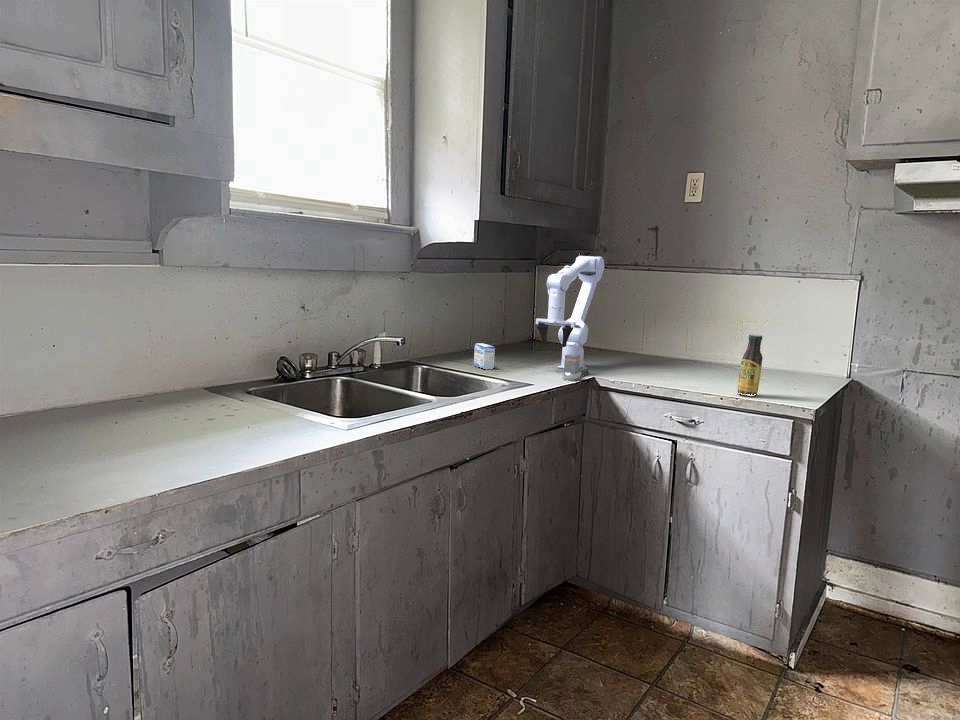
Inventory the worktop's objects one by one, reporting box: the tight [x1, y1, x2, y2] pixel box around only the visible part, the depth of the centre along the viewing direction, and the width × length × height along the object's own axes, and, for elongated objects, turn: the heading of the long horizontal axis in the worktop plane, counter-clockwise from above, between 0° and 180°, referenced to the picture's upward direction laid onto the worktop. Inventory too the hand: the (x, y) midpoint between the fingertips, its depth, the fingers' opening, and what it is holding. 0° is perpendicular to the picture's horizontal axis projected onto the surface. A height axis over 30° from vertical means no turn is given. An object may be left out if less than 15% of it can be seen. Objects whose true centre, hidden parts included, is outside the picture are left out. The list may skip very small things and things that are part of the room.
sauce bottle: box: [736, 333, 763, 395], centre depth 213 cm, size 7×6×20 cm
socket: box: [563, 354, 580, 374], centre depth 229 cm, size 4×4×6 cm
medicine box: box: [473, 342, 496, 370], centre depth 244 cm, size 8×4×9 cm, turn 28°
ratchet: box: [562, 366, 590, 382], centre depth 234 cm, size 18×6×5 cm, turn 153°
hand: (554, 345), depth 239 cm, fingers open, 7 cm apart
